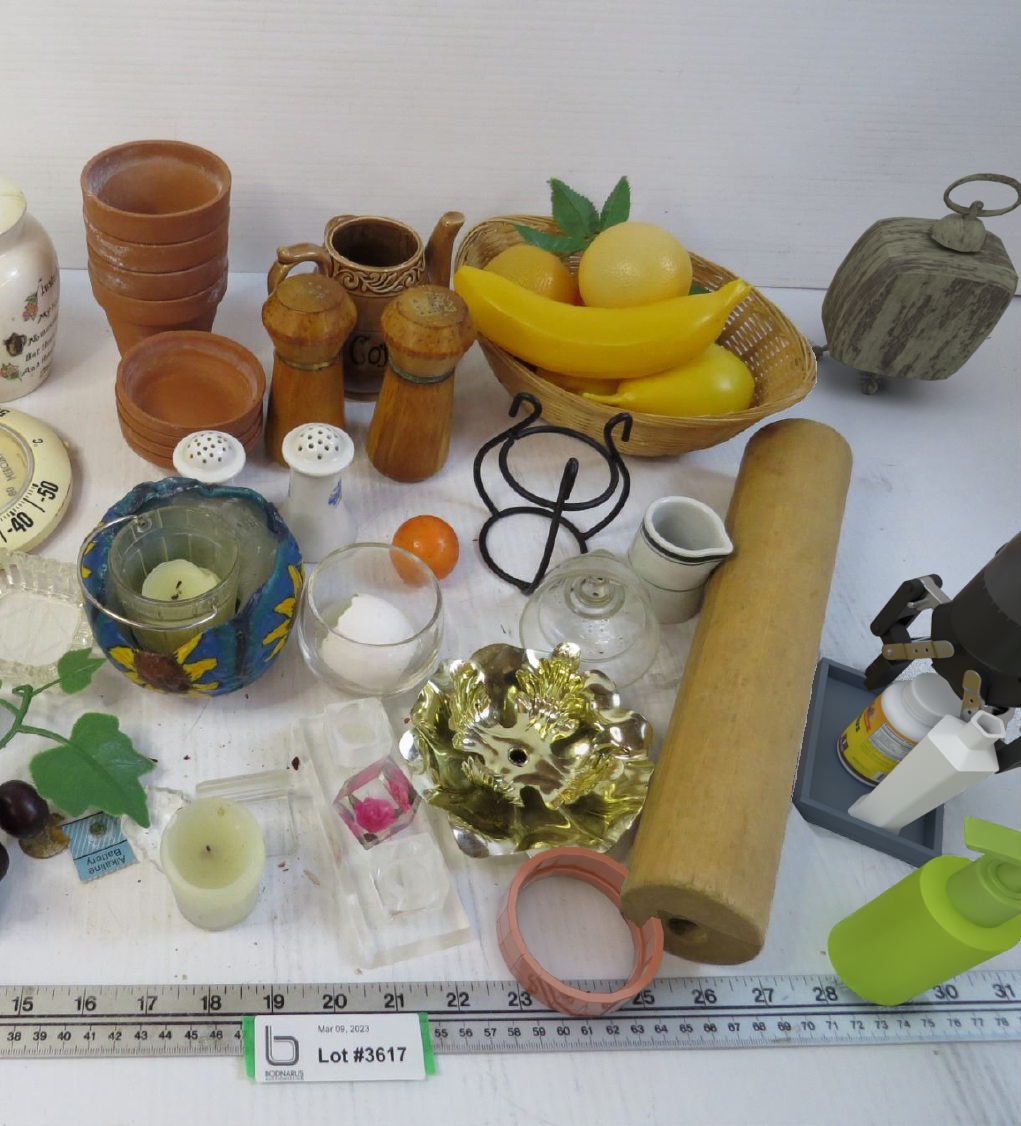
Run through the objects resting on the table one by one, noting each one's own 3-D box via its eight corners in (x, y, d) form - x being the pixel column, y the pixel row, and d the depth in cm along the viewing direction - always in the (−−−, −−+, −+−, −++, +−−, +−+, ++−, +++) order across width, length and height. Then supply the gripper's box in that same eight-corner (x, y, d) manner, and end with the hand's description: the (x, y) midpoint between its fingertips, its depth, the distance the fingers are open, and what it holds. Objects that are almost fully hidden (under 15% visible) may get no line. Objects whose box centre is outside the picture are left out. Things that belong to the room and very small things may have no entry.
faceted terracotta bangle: (667, 996, 66) (694, 975, 62) (533, 1043, 64) (552, 1024, 60) (592, 857, 73) (613, 829, 69) (468, 895, 70) (482, 869, 66)
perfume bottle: (833, 827, 75) (946, 732, 63) (847, 785, 77) (958, 686, 65) (894, 860, 73) (1021, 769, 62) (907, 817, 75) (1031, 721, 64)
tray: (925, 871, 73) (941, 860, 71) (787, 812, 76) (800, 800, 74) (935, 717, 82) (949, 704, 80) (811, 669, 84) (823, 656, 83)
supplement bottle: (859, 719, 81) (929, 650, 73) (919, 770, 78) (997, 704, 70) (818, 750, 78) (885, 684, 71) (878, 804, 76) (954, 740, 68)
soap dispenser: (807, 905, 71) (970, 782, 55) (906, 948, 69) (1104, 834, 54) (797, 980, 67) (969, 871, 52) (901, 1027, 66) (1111, 929, 50)
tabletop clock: (920, 368, 112) (1066, 164, 93) (936, 418, 107) (1095, 213, 87) (793, 346, 114) (909, 142, 94) (802, 395, 108) (928, 189, 89)
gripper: (1192, 672, 57) (1015, 795, 70) (1011, 502, 66) (883, 639, 79) (1096, 701, 56) (933, 822, 69) (924, 524, 64) (807, 660, 77)
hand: (907, 724), depth 74 cm, fingers open, 7 cm apart
